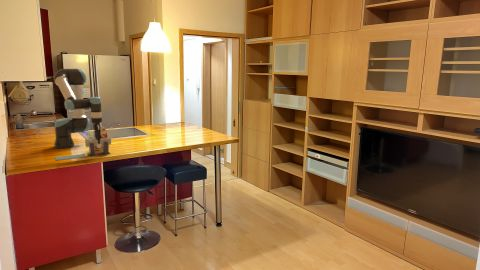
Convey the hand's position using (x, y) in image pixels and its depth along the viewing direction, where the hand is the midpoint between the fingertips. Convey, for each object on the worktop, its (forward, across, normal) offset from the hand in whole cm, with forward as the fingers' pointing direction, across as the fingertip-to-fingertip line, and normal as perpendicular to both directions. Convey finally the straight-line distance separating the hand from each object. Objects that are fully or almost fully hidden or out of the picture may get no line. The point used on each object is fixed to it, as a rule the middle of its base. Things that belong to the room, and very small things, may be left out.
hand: (98, 147), depth 260 cm
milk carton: (+6, -16, +5) cm, 18 cm away
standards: (+6, 0, 0) cm, 6 cm away
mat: (+6, 0, -20) cm, 21 cm away
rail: (-1, 0, 0) cm, 1 cm away
